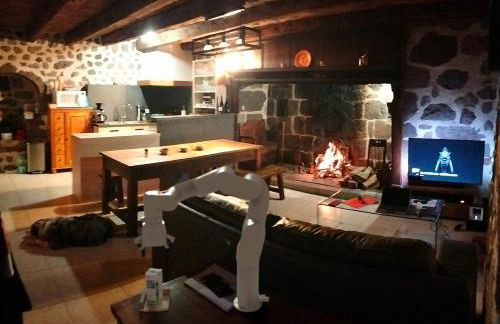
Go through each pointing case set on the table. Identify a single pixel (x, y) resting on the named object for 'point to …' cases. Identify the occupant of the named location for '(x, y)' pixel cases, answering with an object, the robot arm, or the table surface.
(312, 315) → the table surface
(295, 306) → the table surface
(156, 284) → the syrup box
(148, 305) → the board
